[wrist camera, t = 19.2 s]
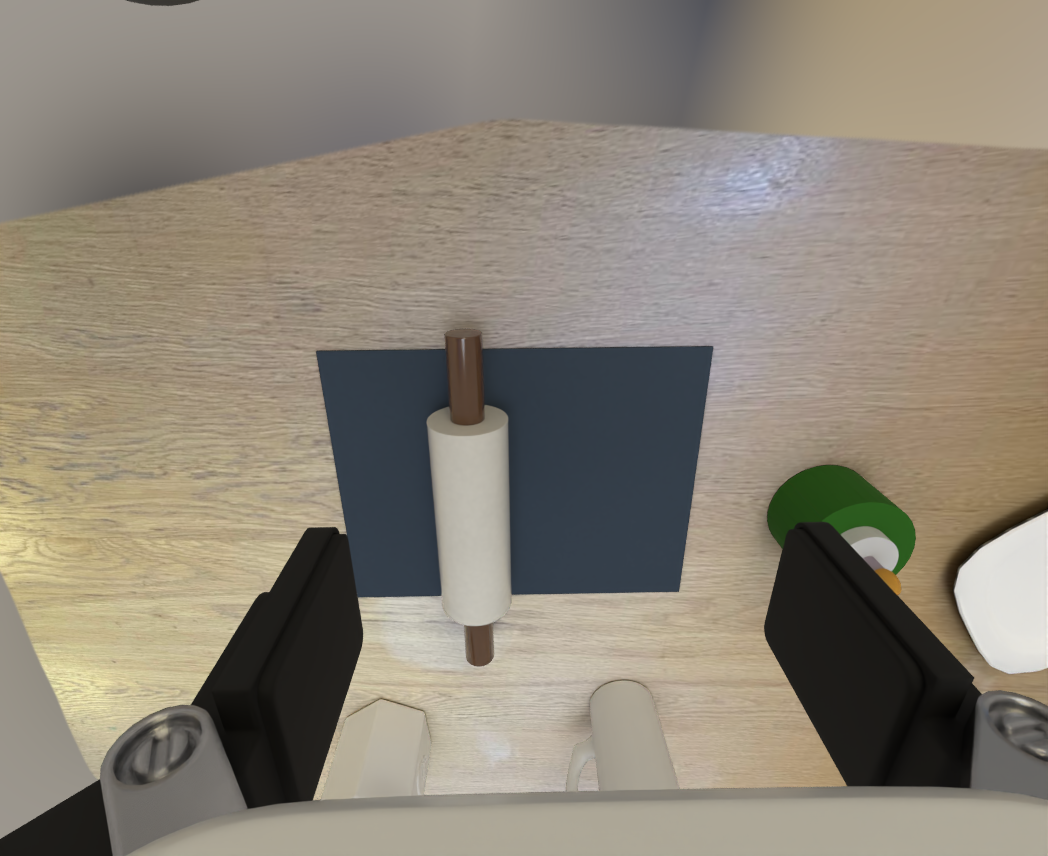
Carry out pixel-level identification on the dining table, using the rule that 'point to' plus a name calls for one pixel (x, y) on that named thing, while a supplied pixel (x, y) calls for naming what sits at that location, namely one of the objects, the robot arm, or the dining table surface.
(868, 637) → the robot arm
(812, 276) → the dining table surface
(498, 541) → the rolling pin
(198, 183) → the dining table surface
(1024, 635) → the plate
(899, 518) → the candle
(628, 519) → the baking mat
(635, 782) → the mug
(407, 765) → the jar
